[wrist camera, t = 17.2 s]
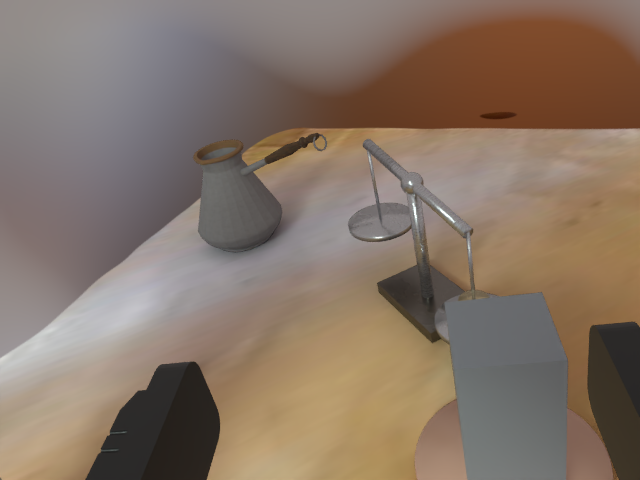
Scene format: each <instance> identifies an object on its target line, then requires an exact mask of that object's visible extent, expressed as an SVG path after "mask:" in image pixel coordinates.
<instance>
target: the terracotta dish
mask: <svg viewBox="0 0 640 480" xmlns="http://www.w3.org/2000/svg"><path fill="white" fill-rule="evenodd" d="M415 470H416V476H417V480H467V475H466V468H465V460H464V453H463V446H462V439H461V431H460V424H459V416H458V407H457V399H456V400H454V401H452V402H451V403H449V404H447V405H446V406H444V407H443V408H442V409H440V410H439V411H438V412H437V413H436V414H435V415H434V416H433V417H432V418H431V419H430V420H429V421H428V423H427V424H426V426H425V427H424V429H423V431H422V433H421V435H420V437H419V440H418V443H417V446H416V452H415ZM566 480H613V471H612V464H611V461H610V458H609V455H608V452H607V450H606V448H605V446H604V444H603V442H602V441H601V439H600V438H599V436H598V435H597V434H596V432H595V431H594V430H593V429H592V428H591V427H590V425H589V424H588V423H586V422H585V421H584V420H583V419H582V418H581V417H580V416H579V415H577V414H576V413H575V412H573V411H572V410H570V409H569V408H567V452H566Z"/></svg>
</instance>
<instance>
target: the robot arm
mask: <svg viewBox="0 0 640 480" xmlns="http://www.w3.org/2000/svg"><path fill="white" fill-rule="evenodd" d="M588 394H589V400H590V404H591V408H592V412H593V415H594V417H595V420H596V423H597V425H598V428H599V430H600V433H601V435H602V438H603V440H604V443H605V445H606V448H607V450H608V453H609V456H610V458H611V461H612V463H613V466H614V468H615V471H616V473H617V476H618V478H619V480H640V327H639V326H638V324H637V323H635V322H625V323H614V324H604V325H593V326H591V328H590V333H589V356H588ZM219 434H220V418H219V412H218V409H217V407H216V404H215V402H214V400H213V397H212V395H211V393H210V390H209V388H208V386H207V383H206V381H205V379H204V376H203V374H202V372H201V369H200V367H199V366H198V364H197V363H196V362H184V363H173V364H162V365H160V366H159V367H158V368H157V369H156V371H155V373H154V375H153V377H152V379H151V381H150V383H149V386H148V388H147V390H142V391H138V392H137V393H136V394H135V395H134V396H133V397H132V398H131V399H130V400H129V401H128V402H127V403H126V404H125V406H124V407H123V408H122V409H121V410H120V412H119V414H118V416H117V418H116V420H115V422H114V424H113V426H112V428H111V430H110V435H109V436H107V438H106V440H105V442H104V444H103V446H102V448H101V453H100V454H98V456H97V458H96V460H95V462H94V464H93V466H92V468H91V470H90V472H89V474H88V476H87V478H86V480H207V476H208V473H209V470H210V466H211V463H212V459H213V456H214V453H215V449H216V446H217V443H218V439H219ZM0 480H2V479H1V478H0Z"/></svg>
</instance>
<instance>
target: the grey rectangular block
mask: <svg viewBox="0 0 640 480" xmlns="http://www.w3.org/2000/svg"><path fill="white" fill-rule="evenodd" d="M445 311H446V319H447V327H448V335H449V343H450V351H451V359H452V367H453V375H454V383H455V391H456V399H457V407H458V416H459V424H460V431H461V439H462V446H463V453H464V460H465V468H466V475H467V480H566V452H567V388H568V359H567V356H566V354H565V351H564V349H563V346H562V343H561V341H560V338H559V336H558V333H557V330H556V328H555V325H554V323H553V320H552V317H551V315H550V312H549V309H548V307H547V304H546V302H545V299H544V296H543V294H542V292H541V293H531V294H522V295H512V296H502V297H493V298H483V299H474V300H464V301H454V302H445Z"/></svg>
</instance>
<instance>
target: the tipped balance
mask: <svg viewBox="0 0 640 480" xmlns="http://www.w3.org/2000/svg"><path fill="white" fill-rule="evenodd" d="M363 147H364V148H365V149H366V150H367V154H368V159H369V165H370V170H371V176H372V181H373V187H374V192H375V198H376V203H377V204H376V205H372V206H368V207H366V208H363V209H361V210H360V211H358V212H356V213H355V214H354V215H353V216H352V217H351V218H350V220H349V223H348V226H349V231H350V233H351V235H352V236H353V237H355V238H357V239H359V240H362V241H367V242H380V241H387V240H391V239H394V238H397V237H399V236H401V235H403V234H405V233H406V232H408V231H409V230H410V229H411V228H412V233H413V240H414V247H415V253H416V260H417V265H416V266H414V267H411V268H409V269H407V270H405V271H403V272H400V273H398V274H396V275H394V276H392V277H389V278H387V279H385V280H383V281H381V282H378V283H377V285H378V290H379V293H380V294H381V295H383V296H384V297H385V298H386V299H387V300H388V301H389V302H390V303H391V304H392V305H393V306H394V307H395V308H396V309H397V310H398V311H399V312H400V313H401V314H402V315H403V316H404V317H406V318H407V319H408V320H409V321H410V322H411V323H412V324H413V325H414V326H415V327H416V328H417V329H418V330H419V331H420V332H421V333H422V334H423V335H424V336H425V337H426V338H427V339H429V340H430V341H431V342H432V343H433V342H435V341H437V340H439V339H442V340H444V341H445V342H446V343H448V344H449V345H450V343H449V335H448V327H447V319H446V311H445V302H454V301H464V300H474V299H483V298H493V297H499V296H497V295H493V294H488V293H485V292H483V291H480V290H475V285H474V274H473V263H472V251H471V240H470V236H471V235H472V233H473V228H471V227H470V226H469V225H468V224H467V223H466V222H464V221H463V220H462V219H461V218H460V217H459V216H458V215H456V214H455V213H454V212H453V211H452V210H451V209H450V208H448V207H447V206H446V205H445V204H444V203H443V202H441V201H440V200H439V199H438V198H437V197H436V196H435V195H433V194H432V193H431V192H430V191H429V190H428V189H427V188H425V187H424V186H423V179H422V177H421V176H420V175H419V174H418V173H415V172H409V173H408V172H407V171H406V170H405V169H404V168H402V167H401V166H400V165H399V164H398V163H397V162H396V161H394V160H393V159H392V158H391V157H390V156H389V155H387V154H386V153H385V152H384V151H383V150H382V149H381V148H379V147H378V146H377V145H376V144H375V143H374V142H373V141H371V140H370V139H366V140H365V141H364V142H363ZM371 155H373V156H374V157H375V158H376V159H377V160H378V161H379V162H380V163H381V164H383V165H384V166H385V167H386V168H387V169H388V170H389V171H390V172H391V173H392V174H394V175H395V176H396V177H397V178H398V179H399V180H400V181H401V188H402V190H403V191H404V192H405V193H407V200H408V206H409V207H407V206H405V205H402V204H398V203H381V204H379V198H378V193H377V187H376V181H375V176H374V170H373V164H372V159H371ZM421 200H422V201H423V202H425V203H426V204H427V205H428V206H429V207H430V208H431V209H432V210H433V211H435V212H436V213H437V214H438V215H439V216H440V217H441V218H442V219H443V220H444V221H446V222H447V223H448V224H449V225H450V226H451V227H452V228H453V229H454V230H456V231H457V232H458V233H459V234H460V235H461V236H462V237H463V238H466V239H467V250H468V261H469V271H470V282H471V290H469V291H466V292H465V291H464V290H462V289H461V288H460V287H458V286H457V285H456V284H454V283H453V282H452V281H450V280H449V279H448V278H446V277H445V276H444V275H443V274H441V273H440V272H439V271H437V270H436V269H435V268H433V267H432V266H431V265H430V262H429V254H428V247H427V239H426V232H425V224H424V217H423V210H422V202H421Z"/></svg>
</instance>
